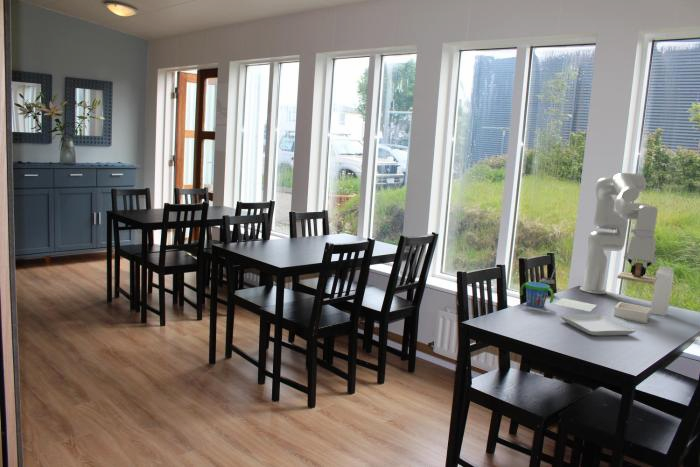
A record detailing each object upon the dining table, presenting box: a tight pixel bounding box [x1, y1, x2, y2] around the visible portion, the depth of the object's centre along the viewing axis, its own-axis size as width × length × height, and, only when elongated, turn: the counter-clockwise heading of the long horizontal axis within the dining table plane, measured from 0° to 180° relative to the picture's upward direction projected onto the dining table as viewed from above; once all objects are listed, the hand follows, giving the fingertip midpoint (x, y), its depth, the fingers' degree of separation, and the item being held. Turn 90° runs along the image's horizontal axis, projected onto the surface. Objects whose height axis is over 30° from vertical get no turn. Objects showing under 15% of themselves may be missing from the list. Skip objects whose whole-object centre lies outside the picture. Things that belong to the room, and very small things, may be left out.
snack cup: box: [519, 281, 555, 308], centre depth 266 cm, size 16×10×10 cm
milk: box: [650, 265, 675, 317], centre depth 270 cm, size 6×6×22 cm
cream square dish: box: [613, 301, 651, 325], centre depth 260 cm, size 13×13×4 cm
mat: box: [553, 297, 597, 312], centre depth 273 cm, size 16×16×1 cm
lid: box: [617, 262, 657, 285], centre depth 258 cm, size 14×14×7 cm
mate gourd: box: [539, 264, 560, 296], centre depth 290 cm, size 8×8×15 cm
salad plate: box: [559, 313, 637, 336], centre depth 238 cm, size 21×21×3 cm
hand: (637, 274), depth 258 cm, fingers closed on lid, 3 cm apart
